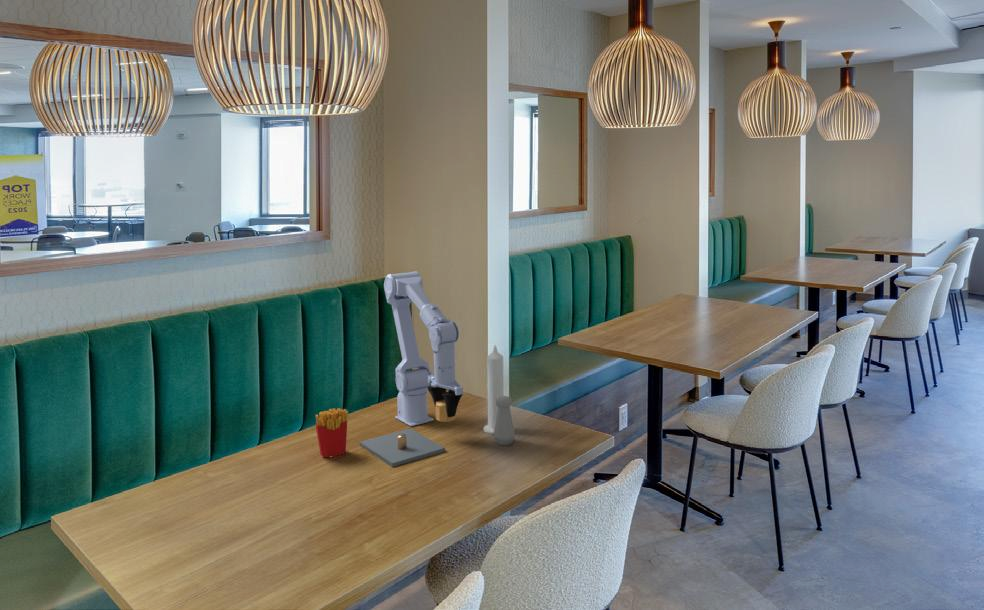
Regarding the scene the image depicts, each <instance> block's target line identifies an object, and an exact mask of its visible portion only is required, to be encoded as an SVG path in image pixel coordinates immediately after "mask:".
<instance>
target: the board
mask: <svg viewBox="0 0 984 610" xmlns="http://www.w3.org/2000/svg"><path fill="white" fill-rule="evenodd" d="M399 434H406V439H407V448H406V449H404V450H399V449H398V442H397V435H399ZM358 443H359V446H360V445H361V446H363V447H364V448H365V450H366V449H367V450H368V452H369V451H370V452H371V453H370V452H369V453H370V454H372V453H373V454H374V456H375V455H376V457H377V458H378V457H379V458H378V459H379V460H381V461H383V462H384V463H386V464H387V465H389V466H390V467H392V468H393V466H394V467H396V466H400V464H401V465H404V464H407V462H408V463H410V462H414V461H418V460H421V459H424V458H428V457H431V456H434V455H437V454H441V453H445V452H446V447H444V446H443V445H441V444H439V443H437V442H435V441H434V440H432V439H430V438H428V437H426V436H425V435H424V434H421V433H419V432H418V431H415V430H414V429H413V428H408V429H407V428H406V429H403V430H399V431H396V432H391V433H388V434H384V435H380V436H376V437H373V438H368V439H364V440H362V441H359V442H358ZM361 446H360V447H361ZM363 447H362V448H363ZM364 448H363V449H364ZM367 450H366V451H367ZM373 454H372V455H373ZM403 463H404V464H403Z"/></svg>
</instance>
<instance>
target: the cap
mask: <svg viewBox="0 0 984 610" xmlns="http://www.w3.org/2000/svg"><path fill="white" fill-rule="evenodd" d="M434 408H435V420H436V421H438V422H444V423H445V422H452V421H455V419H456V418H457V415H456V414H455V416H453V417H448V416H447V411H446V403H445V400H439V401H437V402H436V405H434Z"/></svg>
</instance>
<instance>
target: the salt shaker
mask: <svg viewBox="0 0 984 610" xmlns="http://www.w3.org/2000/svg"><path fill="white" fill-rule="evenodd" d="M496 405H497V406H498V412H497V418H496V424H495V429H494V434H493V438H494V440H495V443H496V444H497V445H499V446H509V445H511V444H513V441H514V439H515V436H516V435H515V434H516V433H515V428H514V425H513V419H512V414H511V413H512V412H511V406H512V405H513V400H512V398H511V397H510V396H507V395H504V396H500V397H498V398H497V399H496Z"/></svg>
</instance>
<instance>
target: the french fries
mask: <svg viewBox="0 0 984 610" xmlns="http://www.w3.org/2000/svg"><path fill="white" fill-rule="evenodd" d="M318 414H319V415H318ZM318 414H315V420H316V423H315V424H314V425H315V430H316V437H317V441H318V448H319V453H320V456H321V455H322V456H323V457H330V456H335V457H337V456H336V455H340V456H342V455H341V454H343V453H345V452H347V451H346V450H347V436H348V435H347V434H348V416H349V411H348V410H347V409H346V408H344V409H343V408H339V407H338V408H337V409H336V407H335V408H329V409H328V410H324V411H320V412H319V413H318ZM345 454H346V453H345ZM343 455H344V454H343ZM322 456H321V457H322ZM330 458H331V457H330Z"/></svg>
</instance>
